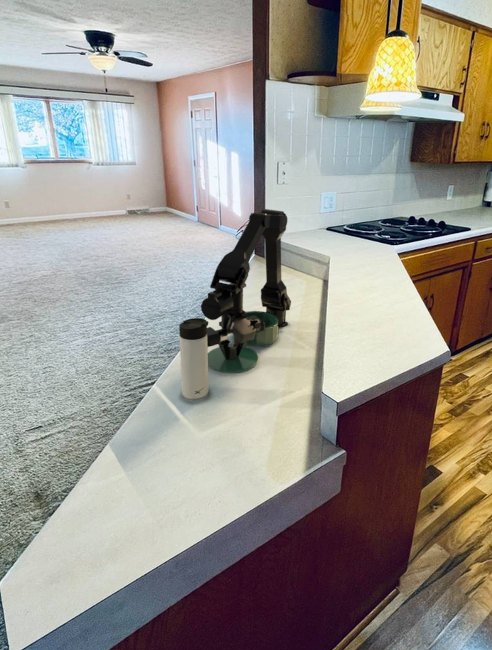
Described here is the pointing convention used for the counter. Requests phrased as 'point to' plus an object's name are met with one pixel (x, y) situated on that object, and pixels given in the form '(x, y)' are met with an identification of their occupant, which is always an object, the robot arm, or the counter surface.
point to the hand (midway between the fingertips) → (231, 357)
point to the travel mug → (194, 358)
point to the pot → (269, 332)
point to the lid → (232, 359)
